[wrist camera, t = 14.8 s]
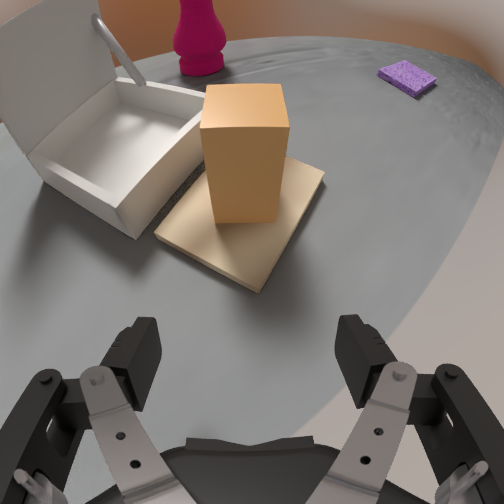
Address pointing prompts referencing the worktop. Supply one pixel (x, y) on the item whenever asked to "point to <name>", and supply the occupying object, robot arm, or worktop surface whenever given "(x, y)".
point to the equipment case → (94, 115)
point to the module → (244, 150)
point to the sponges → (407, 77)
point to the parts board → (239, 228)
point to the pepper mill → (199, 38)
